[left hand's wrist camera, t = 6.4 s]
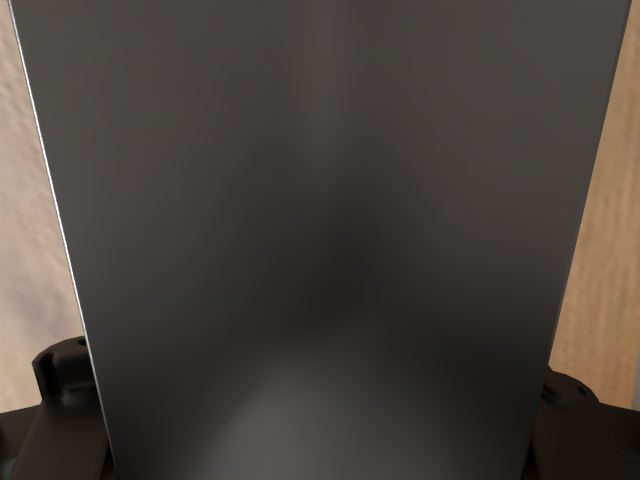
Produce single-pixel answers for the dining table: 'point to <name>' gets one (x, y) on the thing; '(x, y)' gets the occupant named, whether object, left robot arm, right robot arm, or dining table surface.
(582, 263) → the dining table surface
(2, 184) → the dining table surface
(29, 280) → the dining table surface
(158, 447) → the bar
